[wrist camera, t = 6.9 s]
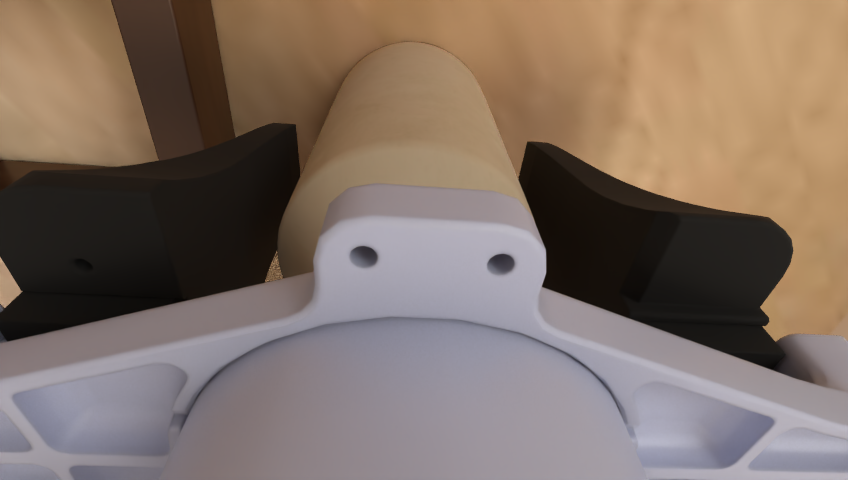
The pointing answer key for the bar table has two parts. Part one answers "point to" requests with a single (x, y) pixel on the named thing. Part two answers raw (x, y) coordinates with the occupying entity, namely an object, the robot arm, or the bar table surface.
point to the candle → (397, 140)
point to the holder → (167, 79)
